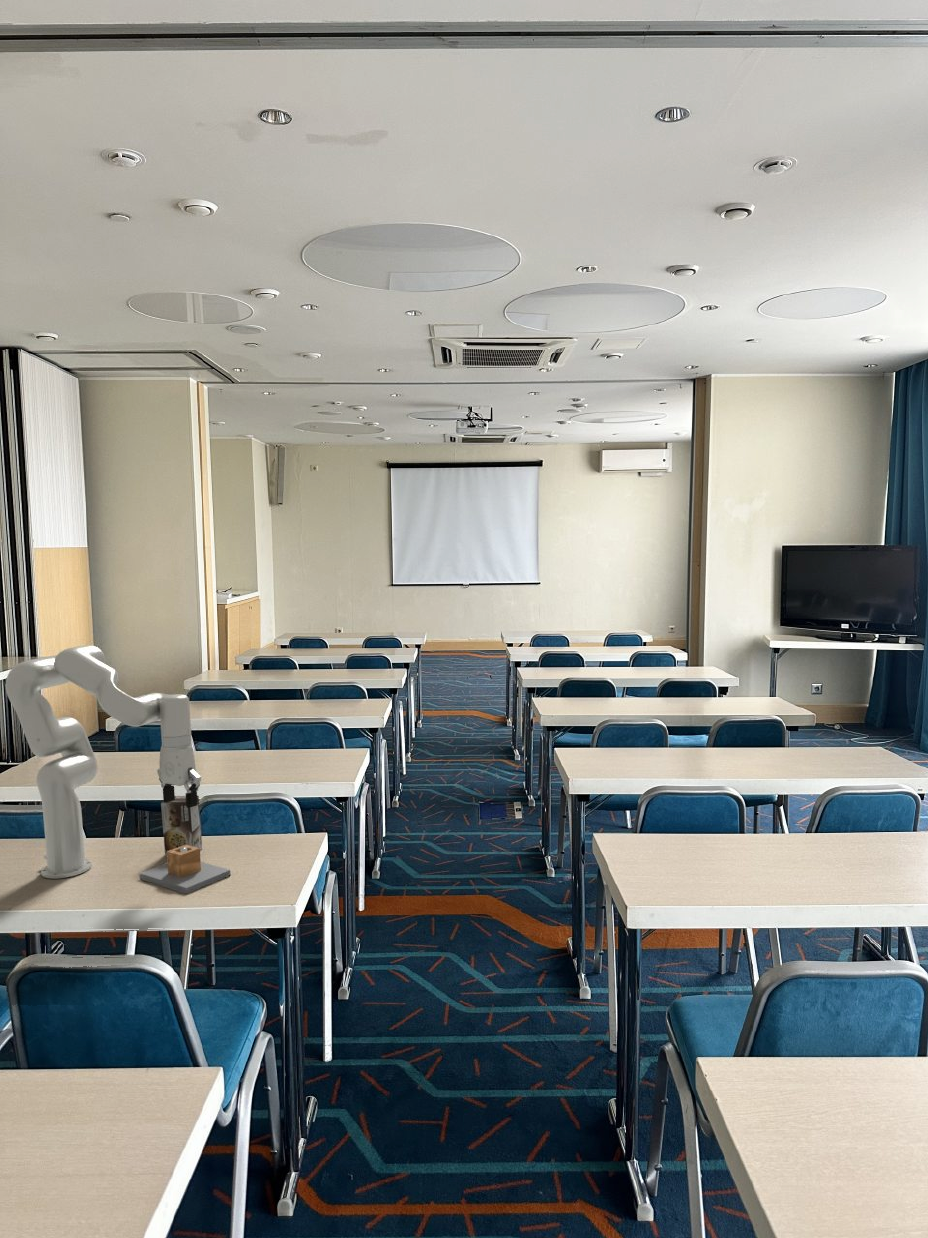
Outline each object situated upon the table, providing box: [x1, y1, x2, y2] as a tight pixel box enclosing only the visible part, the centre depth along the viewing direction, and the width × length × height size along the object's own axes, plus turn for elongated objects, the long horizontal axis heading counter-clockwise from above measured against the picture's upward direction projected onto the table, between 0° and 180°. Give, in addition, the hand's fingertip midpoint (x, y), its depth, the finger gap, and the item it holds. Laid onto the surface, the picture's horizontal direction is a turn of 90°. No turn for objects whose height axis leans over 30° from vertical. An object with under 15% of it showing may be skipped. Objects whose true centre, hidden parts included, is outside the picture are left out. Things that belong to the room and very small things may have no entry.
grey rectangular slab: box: [139, 861, 232, 894], centre depth 222 cm, size 20×14×2 cm
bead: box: [166, 845, 202, 877], centre depth 222 cm, size 6×6×6 cm
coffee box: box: [160, 795, 203, 857], centre depth 241 cm, size 9×6×16 cm
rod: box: [180, 847, 187, 853], centre depth 222 cm, size 2×2×6 cm
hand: (180, 804), depth 220 cm, fingers open, 9 cm apart
